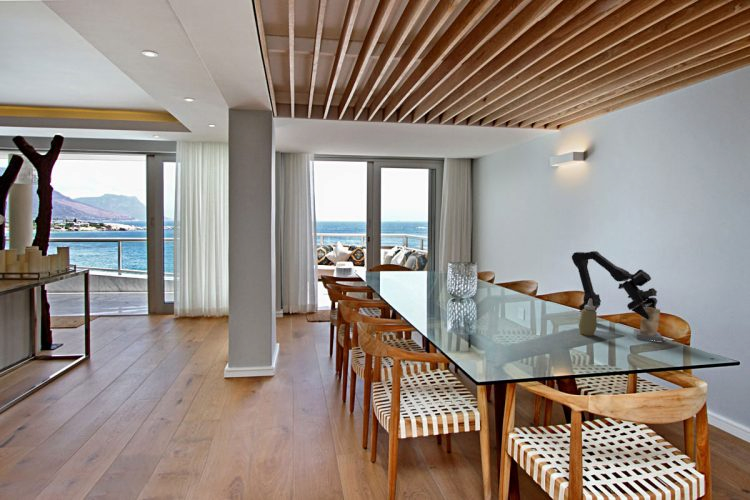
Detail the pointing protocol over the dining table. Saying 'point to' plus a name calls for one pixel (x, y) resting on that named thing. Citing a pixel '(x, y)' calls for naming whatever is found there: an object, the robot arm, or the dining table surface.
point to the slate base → (647, 336)
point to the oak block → (650, 321)
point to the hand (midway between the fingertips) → (653, 318)
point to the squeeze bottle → (588, 319)
